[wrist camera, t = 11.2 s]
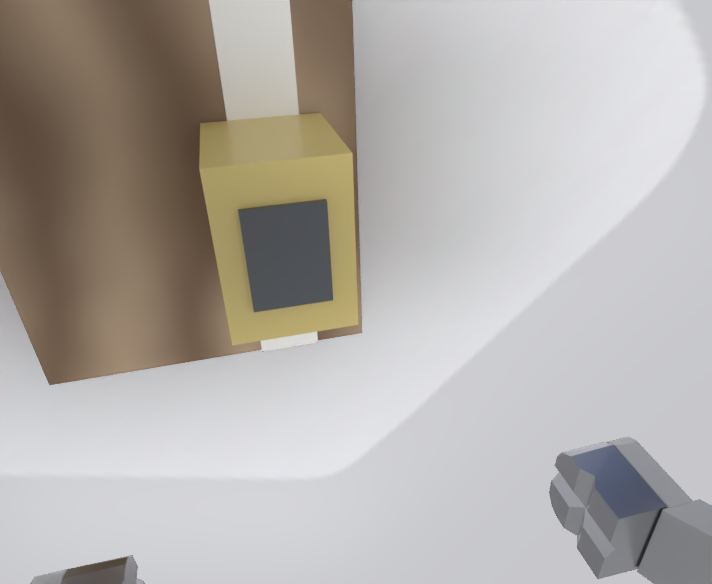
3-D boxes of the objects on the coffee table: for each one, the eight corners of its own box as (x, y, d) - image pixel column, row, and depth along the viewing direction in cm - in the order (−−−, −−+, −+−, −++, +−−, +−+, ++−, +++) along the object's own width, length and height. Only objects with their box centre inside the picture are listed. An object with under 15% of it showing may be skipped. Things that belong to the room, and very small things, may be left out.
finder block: (226, 272, 26) (232, 349, 21) (199, 123, 22) (199, 171, 17) (329, 257, 27) (360, 328, 22) (320, 112, 23) (354, 155, 18)
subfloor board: (56, 366, 28) (48, 387, 27) (-97, -7, 19) (-121, -5, 18) (355, 318, 31) (362, 334, 30) (343, -25, 22) (352, -24, 21)
